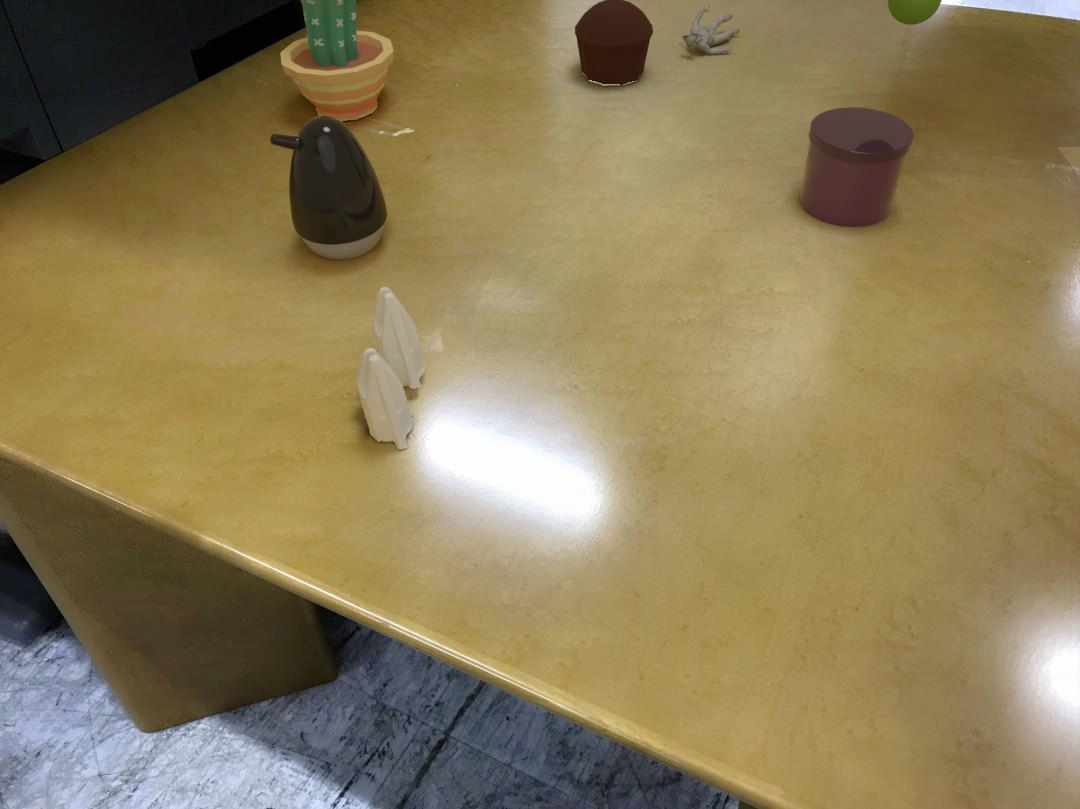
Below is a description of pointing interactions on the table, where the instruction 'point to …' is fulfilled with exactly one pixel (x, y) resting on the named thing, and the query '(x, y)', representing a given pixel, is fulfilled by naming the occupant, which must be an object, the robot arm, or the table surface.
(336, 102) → the potted cactus
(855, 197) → the jar
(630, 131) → the table surface
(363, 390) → the shaker set
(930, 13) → the snail figurine
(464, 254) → the table surface
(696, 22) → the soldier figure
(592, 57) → the muffin
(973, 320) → the table surface
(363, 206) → the pump dispenser
